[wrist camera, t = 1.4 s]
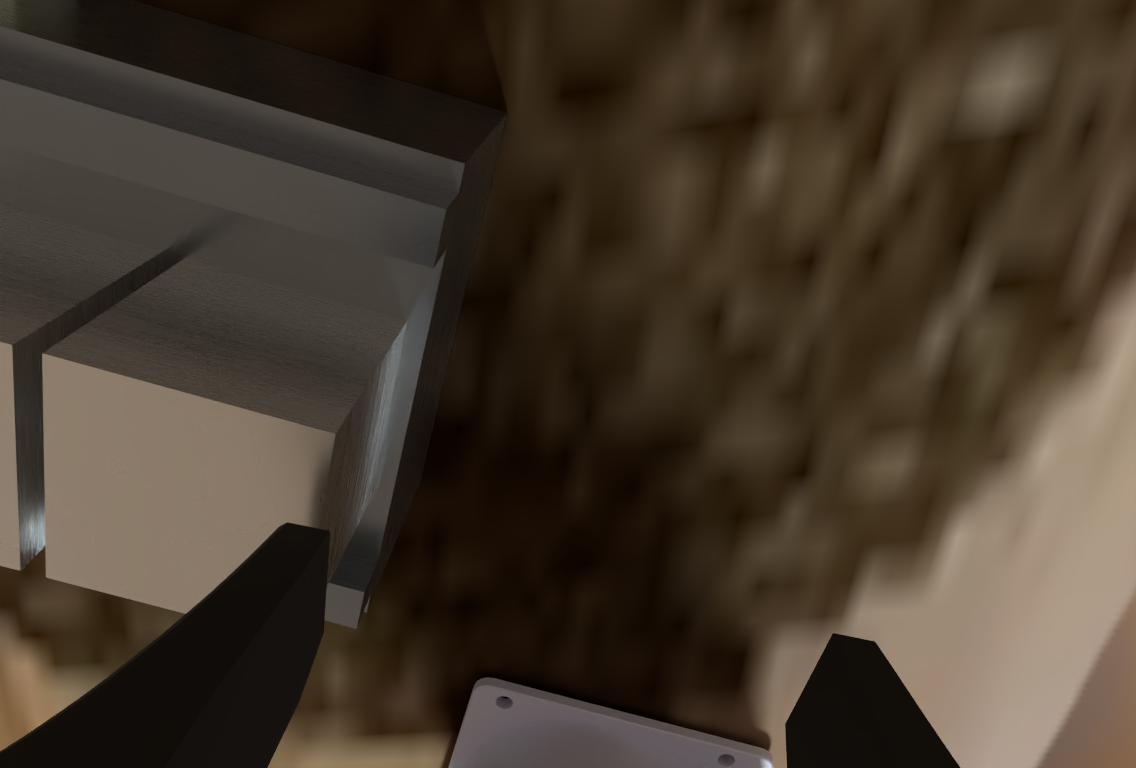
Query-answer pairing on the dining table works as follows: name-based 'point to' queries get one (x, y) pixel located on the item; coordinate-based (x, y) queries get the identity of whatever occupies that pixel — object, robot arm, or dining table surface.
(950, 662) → the dining table surface
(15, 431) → the chip
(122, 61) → the slot block
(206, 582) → the chip
